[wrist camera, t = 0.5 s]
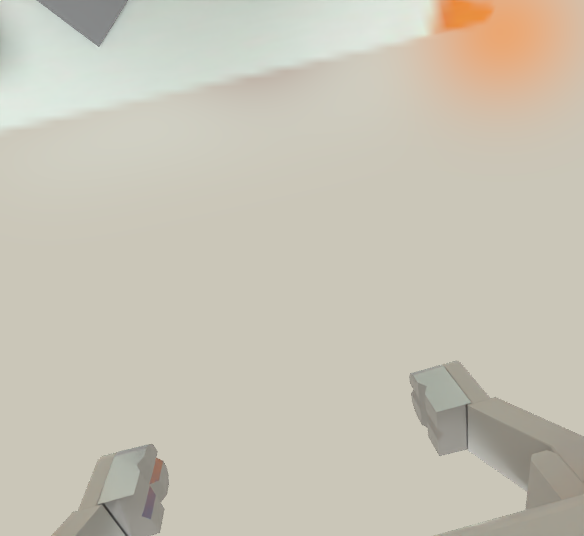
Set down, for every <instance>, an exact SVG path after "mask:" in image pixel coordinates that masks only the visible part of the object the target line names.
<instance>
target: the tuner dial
mask: <svg viewBox="0 0 584 536" xmlns="http://www.w3.org/2000/svg"><path fill="white" fill-rule="evenodd" d="M37 1H39V2H40V3H41V4H43V5H44V6H45V7H47V8H48V9H49V10H51V11H52V12H53V13H54V14H56V15H57V16H58V17H60V18H61V19H62V20H64V21H65V22H66V23H68V24H69V25H70V26H72V27H73V28H74V29H76V30H77V31H78V32H80V33H81V34H82V35H84V36H85V37H86V38H88V39H89V40H90V41H92V42H93V43H94V44H96V45H97V46H98V47H99V46H100V45H101V43H102V41H103V40H104V38H105V37H106V35H107V33H108V32H109V30H110V28H111V27H112V25H113V24H114V22H115V20H116V19H117V17H118V16H119V14H120V12H121V11H122V9H123V7H124V6H125V4H126V3H127V1H128V0H37Z"/></svg>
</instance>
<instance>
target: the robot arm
mask: <svg viewBox="0 0 584 536" xmlns="http://www.w3.org/2000/svg"><path fill="white" fill-rule="evenodd" d="M410 384H411V385H412V387H413V389H414V390H413V392H412V393H411V396H412V402H413V405H414V409H415V412H416V414H417V416H418V418H419V420H420V422H421V424H422V425H424V426H426V427H427V428H428V436H429V438H430V440H431V442H432V444H433V445H434V447H435V449H436V451H437V453H438V454H439V456H442V455H445V454H450V453H454V452H458V451H462V450H466V449H468V451H469V452H471V453H472V454H474V455H475V456H477V457H478V458H480V459H481V460H482V461H484V462H485V463H487V464H488V465H490V466H491V467H492V468H494V469H495V470H497V471H498V472H500V473H501V474H502V475H504V476H505V477H507V478H508V479H510V480H511V481H513V482H514V483H516V484H517V485H518V486H520V487H521V488H523V489H524V490H526V491H527V501H526V510H524V511H521V512H517V513H514V514H510V515H506V516H503V517H499V518H495V519H492V520H488V521H485V522H482V523H478V524H474V525H470V526H467V527H463V528H460V529H456V530H452V531H449V532H445V533H442V534H438V535H434V536H584V436H581V435H579V434H577V433H575V432H572V431H570V430H568V429H565V428H563V427H561V426H559V425H556V424H554V423H552V422H550V421H548V420H545V419H543V418H541V417H539V416H536V415H534V414H532V413H530V412H528V411H525V410H523V409H521V408H518V407H516V406H514V405H512V404H510V403H507V402H505V401H503V400H501V399H498V398H496V397H494V398H490V397H489V396H488V395H487V394H486V393H485V391H484V390H483V389H482V388H481V386H480V385H479V384H478V383H477V382H476V380H475V379H474V378H473V377H472V376H471V375H470V373H469V372H468V371H467V370H466V369H465V367H463V365H462V364H461V363H460V362H459V361H453V362H450V363H446V364H443V365H441V366H440V365H439V366H435V367H432V368H428V369H425V370H421V371H418V372H414V373H410ZM156 456H157V450H156V448H155V447H154V445H153V444H149V445H144V446H141V447H136V448H132V449H128V450H124V451H120V452H117V453H113V454H109V455H104V456H102V457H101V458H100V459H99V460H98V461H97V464H96V466H95V469H94V471H93V474H92V476H91V479H90V481H89V484H88V486H87V489H86V491H85V495H84V497H83V499H82V502H81V504H80V507H79V509H78V511H75V512H73V513H72V514H71V515H70V516H69V517H68V518H67V519H66V520H65V521H64V522H63V524H62V525H61V526H60V527H59V528H58V529H57V530H56V531H55V532H54V533H53V535H52V536H151V535H154V534H157V533H160V529H161V524H162V519H163V513H164V508H163V506H162V504H161V501H162V500H163V499H164V497H165V496H166V495H167V491H168V485H169V480H168V471H167V468H166V465H165V463H164V462H163V461H162V460H160V459H158V458H156Z"/></svg>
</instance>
